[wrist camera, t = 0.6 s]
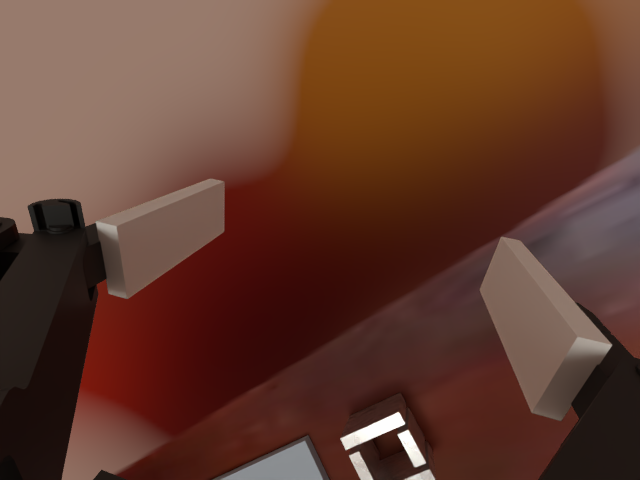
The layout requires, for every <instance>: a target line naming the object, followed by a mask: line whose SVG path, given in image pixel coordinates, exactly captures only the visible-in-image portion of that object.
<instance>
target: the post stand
mask: <svg viewBox="0 0 640 480" xmlns="http://www.w3.org/2000/svg"><path fill="white" fill-rule="evenodd" d="M212 480H329V478H328V476H327V474H326V471H325V469H324V467H323V465H322V463H321V461H320V459H319V457H318V455H317V452H316V450H315V448H314V446H313V444H312V442H311V440H310V438H309V436H308V435H307V436H305V437H303V438H301V439H299V440H297V441H294V442H292V443H290V444H288V445H286V446H284V447H281V448H279V449H277V450H275V451H273V452H271V453H268V454H266V455H264V456H262V457H260V458H258V459H256V460H253V461H251V462H249V463H247V464H245V465H243V466H240V467H238V468H236V469H234V470H232V471H230V472H228V473H225V474H223V475H221V476H219V477H217V478H215V479H212Z"/></svg>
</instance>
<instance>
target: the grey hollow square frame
mask: <svg viewBox="0 0 640 480" xmlns="http://www.w3.org/2000/svg"><path fill="white" fill-rule="evenodd" d="M397 427H398V436H399V438H400V440H401V442H402V444H403V446H404V448H405V450H404V451H401V452H399V453H396V454H394V455H392V456H389V457H387V458H385V459H382V460H380V461H379V458H380V453H379V451H378V449H377V447H376V445H375V443H374V441H373V439H372V438H374V437H377V436H379V435H381V434H384V433H386V432H388V431H390V430H393V429H395V428H397ZM340 439H341V441H342V443H343V445H344V447H345V449H346V450H347V449H349V448H351V451H350V454H349V457H350V459H351V461H352V463H353V465H354V467H355V469H356V471H357V473H358V475H359V477H360V479H361V480H436V473H435V465H434V456H433V450H432V449H431V447H430V445H429V443H428V441H425V440H424V434H423V432H422V430H421V429H420V427H419V425H418V423H417V421H416V420H415V418H414V416H413V414H412V412H411V410H410V409H409V407H408V408H406V401H405V400H404V398H403V396H402V394H401V392H400V393H398V394H396V395H393V396H391V397H389V398H387V399H385V400H383V401H381V402H378V403H376V404H374V405H372V406H370V407H368V408H365V409H363V410H361V411H359V412H357V413H355V414H353V415H350V416H349V419H348V421H347V424H346V426H345V429H344V431H343V433H342V436H341V438H340Z"/></svg>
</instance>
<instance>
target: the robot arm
mask: <svg viewBox="0 0 640 480" xmlns="http://www.w3.org/2000/svg"><path fill="white" fill-rule="evenodd" d="M28 210H29V213H30V217H31V221H32V224H33V228H34V232H33V234H24V233H18V230H17V227H16V224H15V221H14V220H13V219H10V218H2V217H0V480H61V479H62V473H63V468H64V463H65V458H66V453H67V448H68V443H69V438H70V433H71V428H72V423H73V418H74V413H75V408H76V403H77V398H78V393H79V388H80V383H81V378H82V373H83V368H84V363H85V358H86V353H87V348H88V343H89V338H90V333H91V328H92V323H93V318H94V313H95V308H96V303H97V298H98V290H97V284H98V283H100V282H102V281H103V280H105V279H106V282H107V287H108V293H109V294H112V295H115V296H119V297H122V298H126V299H128V298H129V297H131V296H132V295H134V294H135V293H136V292H138V291H140V290H141V289H142V288H144V287H145V286H147V285H148V284H149V283H151V282H152V281H154V280H155V279H157V278H158V277H160V276H161V275H162V274H164V273H165V272H167V271H168V270H170V269H171V268H173V267H174V266H175V265H177V264H178V263H180V262H181V261H182V260H184V259H185V258H187V257H188V256H190V255H191V254H193V253H194V252H196V251H197V250H198V249H200V248H201V247H203V246H204V245H206V244H207V243H208V242H210V241H211V240H213V239H214V238H216V237H217V236H218V235H220V234H221V233H223V232H224V181H220V180H215V179H208V180H205V181H203V182H200V183H197V184H195V185H192V186H190V187H187V188H184V189H181V190H178V191H176V192H173V193H170V194H168V195H165V196H162V197H160V198H157V199H154V200H152V201H149V202H146V203H144V204H141V205H138V206H135V207H133V208H130V209H127V210H125V211H122V212H119V213H116V214H114V215H111V216H108V217H106V218H103V219H100V220H98V221H96V223H94V224H92V225H89V226H86V227H85V223H84V218H83V213H82V208H81V203H80V202H78V201H76V200H71V199H50V200H44V201H38V202H35V203H32V204H30V205H29V206H28ZM480 292H481V295H482V297H483V299H484V302H485V304H486V306H487V309H488V311H489V313H490V316H491V318H492V321H493V323H494V325H495V328H496V330H497V332H498V335H499V337H500V339H501V342H502V344H503V346H504V349H505V351H506V354H507V356H508V358H509V361H510V363H511V365H512V368H513V370H514V372H515V375H516V377H517V380H518V382H519V384H520V387H521V389H522V391H523V394H524V396H525V398H526V401H527V403H528V406H529V408H530V410H531V413H534V414H538V415H541V416H545V417H548V418H552V419H556V420H559V421H562V419H563V418H564V416H565V415H566V413H567V412H568V410H569V409H570V407H571V406H572V407H573V408H574V410H575V412H576V414H577V415H578V417H579V420H578V422H577V423H576V425H575V426H574V427H573V429H572V430H571V432H570V433H569V435H568V436H567V437H566V439H565V440H564V442H563V443H562V444H561V446H560V448H559V450H558V451H557V453H556V454H555V456H554V457H553V458H552V460H551V461H550V463H549V464H548V466H547V467H546V469H545V470H544V472H543V473H542V475H541V476H540V478H539V479H538V480H640V359H638V358H634V357H633V356H632V355H631V354H630V353H629V352H628V351H627V350H626V348H625V347H624V346H623V345H622V344H621V343H620V342H619V341H618V340H617V339H616V338H615V337H614V336H613V335H611V332H610V331H609V330H608V329H607V328H606V327H605V326H603V324H602V323H601V322H600V320H599V319H598V318H597V317H596V316H595V315H594V314H593V313H592V312H590V311H589V310H587V309H586V308H584V307H583V306H582V305H580V304H579V303H576V302H574V301H573V300H572V299H571V298H570V296H569V295H568V294H567V293H566V292H565V291H564V290H563V289H562V287H561V286H560V285H559V284H558V283H557V282H556V281H555V280H554V278H553V277H552V276H551V275H550V274H549V273H548V272H547V270H546V269H545V268H544V267H543V266H542V265H541V264H540V263H539V261H538V260H537V259H536V258H535V257H534V256H533V255H532V254H531V252H530V251H529V250H528V249H527V248H526V247H525V246H524V244H523V243H522V242H521V241H520V240H515V239H510V238H505V237H501V238H500V241H499V243H498V246H497V248H496V251H495V253H494V255H493V258H492V260H491V263H490V265H489V268H488V270H487V273H486V275H485V278H484V280H483V283H482V285H481V288H480ZM93 480H126V479H124V478H121V477H119V476H116V475H113V474H111V473H108V472H105V471H103V470H101V471H100V472H99V473H98V475H97V476H96V477H95V478H94V479H93Z"/></svg>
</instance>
